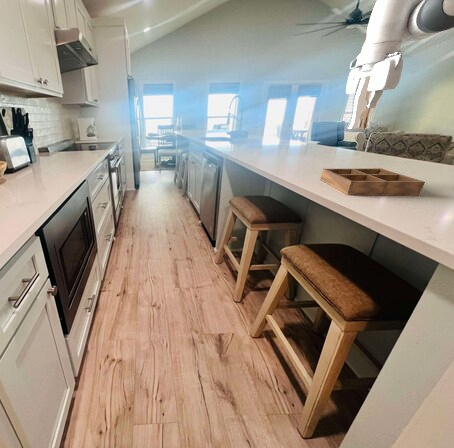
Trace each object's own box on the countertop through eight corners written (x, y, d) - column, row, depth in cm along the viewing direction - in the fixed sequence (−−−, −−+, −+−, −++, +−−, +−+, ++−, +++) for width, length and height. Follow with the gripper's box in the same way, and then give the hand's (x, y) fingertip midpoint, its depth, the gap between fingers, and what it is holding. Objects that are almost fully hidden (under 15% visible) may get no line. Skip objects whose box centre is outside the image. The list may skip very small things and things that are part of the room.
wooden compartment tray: (377, 179, 90) (381, 168, 88) (419, 195, 72) (425, 181, 71) (320, 179, 93) (322, 168, 91) (347, 194, 76) (351, 181, 74)
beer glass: (352, 129, 78) (366, 75, 71) (340, 128, 84) (353, 78, 78) (376, 128, 76) (393, 73, 70) (363, 127, 83) (377, 77, 76)
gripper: (418, 47, 62) (398, 107, 68) (368, 62, 80) (356, 108, 86) (389, 49, 63) (372, 108, 69) (347, 64, 81) (336, 109, 87)
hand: (363, 108), depth 78 cm, fingers closed on beer glass, 6 cm apart
